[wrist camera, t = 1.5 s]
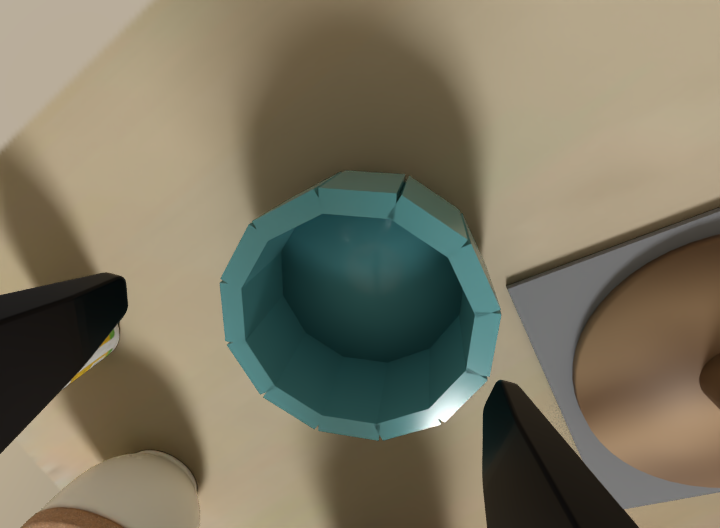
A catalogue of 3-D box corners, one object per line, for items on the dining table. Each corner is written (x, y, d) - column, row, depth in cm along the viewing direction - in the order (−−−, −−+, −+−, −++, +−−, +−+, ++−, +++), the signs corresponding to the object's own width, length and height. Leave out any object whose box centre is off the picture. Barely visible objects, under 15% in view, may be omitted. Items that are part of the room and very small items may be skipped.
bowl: (513, 326, 22) (540, 397, 17) (332, 387, 26) (305, 461, 20) (424, 126, 19) (420, 132, 14) (234, 227, 23) (171, 263, 18)
